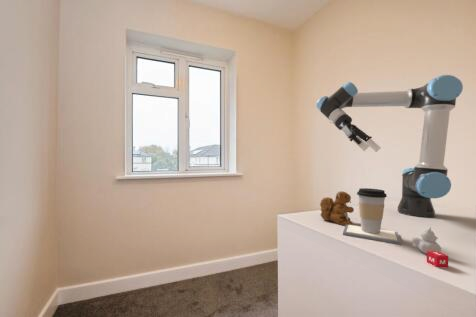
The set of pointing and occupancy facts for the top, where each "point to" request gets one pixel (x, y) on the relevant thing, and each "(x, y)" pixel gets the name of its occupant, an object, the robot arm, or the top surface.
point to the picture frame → (382, 236)
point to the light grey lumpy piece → (427, 242)
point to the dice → (437, 259)
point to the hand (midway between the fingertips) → (372, 149)
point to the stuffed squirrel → (336, 209)
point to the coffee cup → (371, 209)
